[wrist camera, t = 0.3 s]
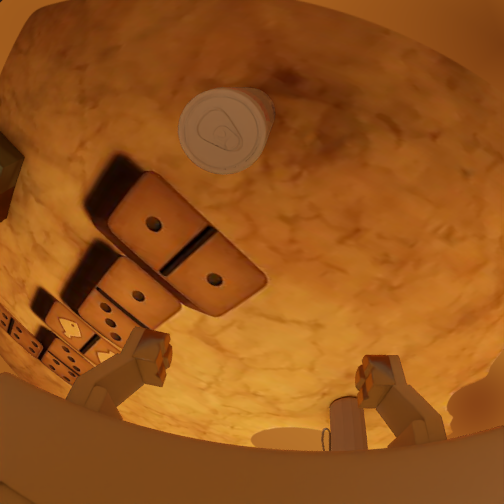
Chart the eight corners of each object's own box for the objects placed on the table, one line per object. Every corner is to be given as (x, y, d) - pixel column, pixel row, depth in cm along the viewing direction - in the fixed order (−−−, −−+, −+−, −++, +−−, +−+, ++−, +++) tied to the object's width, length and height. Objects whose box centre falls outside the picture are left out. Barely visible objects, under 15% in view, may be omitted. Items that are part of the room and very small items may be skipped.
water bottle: (357, 390, 52) (367, 508, 31) (366, 406, 55) (376, 512, 34) (314, 402, 55) (313, 516, 34) (327, 417, 59) (327, 519, 37)
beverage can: (225, 85, 28) (179, 84, 16) (278, 91, 28) (273, 92, 15) (220, 134, 31) (173, 171, 19) (271, 140, 31) (260, 182, 18)
